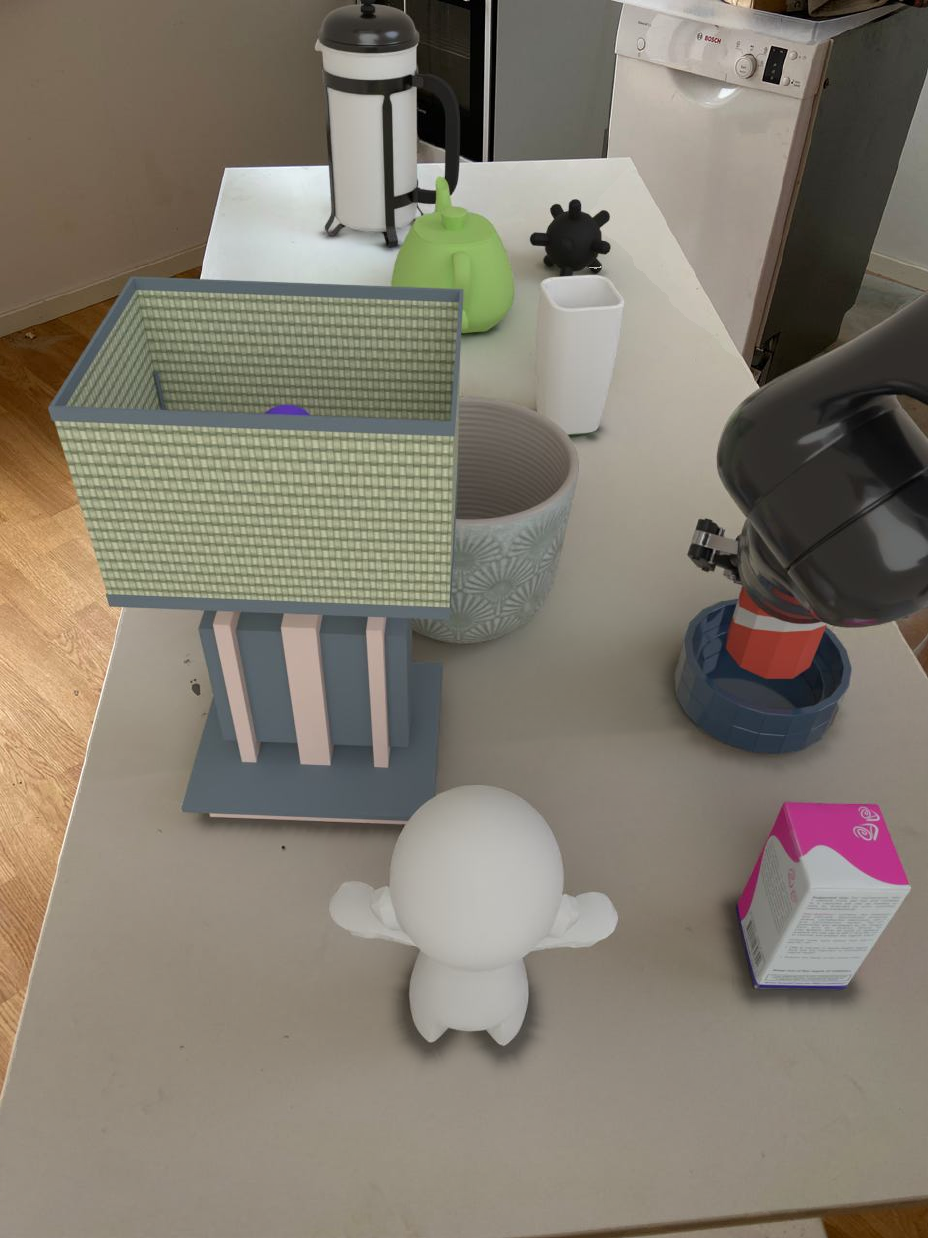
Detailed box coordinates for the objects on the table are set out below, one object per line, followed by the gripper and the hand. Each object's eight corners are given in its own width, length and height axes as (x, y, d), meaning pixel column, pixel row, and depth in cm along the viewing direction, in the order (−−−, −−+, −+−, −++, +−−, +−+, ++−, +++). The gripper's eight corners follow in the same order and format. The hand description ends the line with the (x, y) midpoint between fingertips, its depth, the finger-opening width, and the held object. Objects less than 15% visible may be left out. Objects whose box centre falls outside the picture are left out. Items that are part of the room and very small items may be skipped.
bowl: (857, 692, 77) (878, 648, 73) (786, 787, 70) (805, 743, 67) (721, 621, 82) (734, 577, 79) (643, 702, 76) (654, 657, 72)
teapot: (385, 275, 129) (381, 173, 120) (496, 272, 131) (501, 170, 122) (398, 357, 113) (396, 246, 104) (525, 352, 115) (533, 242, 106)
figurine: (595, 956, 60) (645, 754, 46) (605, 1097, 54) (665, 912, 40) (344, 944, 60) (319, 739, 46) (325, 1083, 54) (290, 895, 40)
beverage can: (776, 618, 76) (820, 493, 67) (825, 675, 71) (878, 549, 63) (708, 635, 74) (745, 509, 66) (754, 694, 70) (799, 567, 62)
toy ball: (634, 243, 131) (624, 254, 121) (572, 292, 136) (556, 307, 126) (588, 176, 129) (573, 181, 119) (527, 228, 134) (507, 238, 124)
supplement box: (849, 990, 59) (915, 891, 51) (752, 990, 59) (803, 890, 51) (823, 904, 63) (880, 800, 55) (733, 903, 63) (777, 799, 55)
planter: (385, 692, 76) (378, 540, 65) (345, 556, 87) (334, 408, 77) (589, 654, 79) (614, 504, 69) (524, 528, 91) (537, 383, 80)
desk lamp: (452, 685, 76) (463, 286, 54) (444, 839, 66) (454, 427, 43) (219, 676, 76) (132, 274, 54) (176, 829, 66) (45, 411, 43)
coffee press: (339, 258, 133) (323, 3, 112) (313, 213, 143) (294, -26, 123) (459, 244, 137) (465, -4, 116) (425, 202, 148) (425, -32, 127)
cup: (542, 445, 101) (555, 311, 91) (525, 408, 106) (536, 277, 96) (609, 439, 102) (629, 306, 92) (589, 403, 107) (606, 272, 97)
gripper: (967, 522, 52) (910, 562, 68) (702, 454, 56) (707, 507, 72) (923, 655, 52) (876, 664, 68) (662, 579, 56) (676, 604, 72)
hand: (790, 583), depth 70 cm, fingers closed on beverage can, 6 cm apart
